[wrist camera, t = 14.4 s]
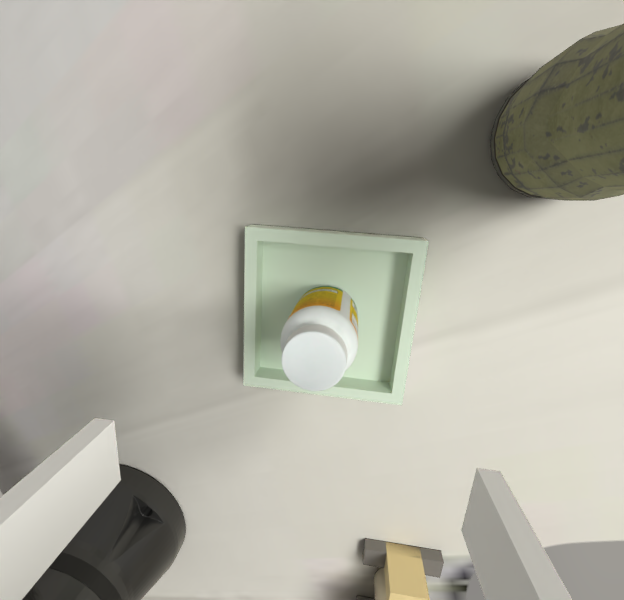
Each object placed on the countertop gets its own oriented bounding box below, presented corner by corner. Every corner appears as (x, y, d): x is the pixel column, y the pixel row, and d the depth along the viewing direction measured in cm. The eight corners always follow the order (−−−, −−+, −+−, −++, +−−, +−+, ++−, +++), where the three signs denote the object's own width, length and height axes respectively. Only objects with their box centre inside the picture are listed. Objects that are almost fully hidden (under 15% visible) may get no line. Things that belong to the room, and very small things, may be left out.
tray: (251, 372, 33) (243, 385, 30) (254, 224, 29) (244, 226, 26) (398, 389, 31) (401, 405, 29) (422, 237, 27) (428, 241, 25)
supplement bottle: (370, 312, 29) (378, 363, 20) (328, 353, 31) (318, 418, 21) (324, 270, 29) (310, 302, 19) (283, 313, 30) (253, 363, 21)
